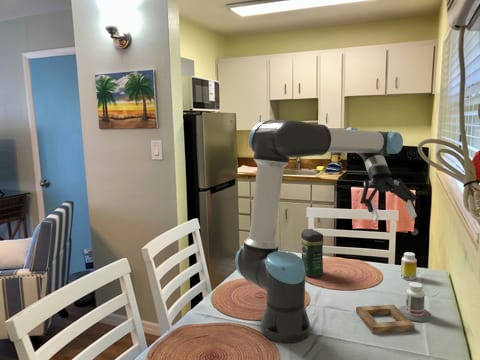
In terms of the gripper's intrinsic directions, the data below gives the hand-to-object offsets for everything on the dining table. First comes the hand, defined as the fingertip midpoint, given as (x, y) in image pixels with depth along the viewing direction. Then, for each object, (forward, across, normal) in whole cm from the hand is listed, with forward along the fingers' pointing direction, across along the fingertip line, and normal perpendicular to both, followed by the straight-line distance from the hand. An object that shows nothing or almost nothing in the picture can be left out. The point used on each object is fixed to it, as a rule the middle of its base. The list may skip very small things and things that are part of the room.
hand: (395, 218), depth 134 cm
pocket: (+31, +10, -11) cm, 34 cm away
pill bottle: (+29, -2, -12) cm, 31 cm away
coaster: (+29, -2, -13) cm, 32 cm away
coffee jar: (+2, +22, -40) cm, 45 cm away
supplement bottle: (+9, -15, -33) cm, 37 cm away
